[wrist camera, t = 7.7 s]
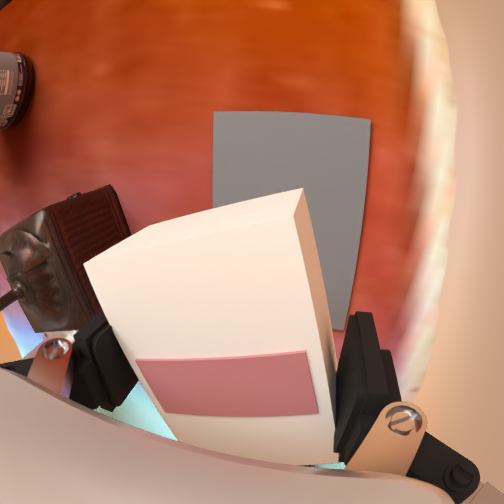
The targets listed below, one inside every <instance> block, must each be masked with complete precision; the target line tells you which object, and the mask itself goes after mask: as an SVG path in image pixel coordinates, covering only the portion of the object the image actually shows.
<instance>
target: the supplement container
mask: <svg viewBox="0 0 504 504" xmlns="http://www.w3.org/2000/svg"><path fill="white" fill-rule="evenodd" d="M32 83H33V70H32V65H31V62H30V60H29V58H28V57H27V56H26V55H25V54H23V53H21V52H6V51H0V131H5V130H8V129H10V128H12V127H13V126H14V125H15V124H16V123H17V122H18V121H19V119H20V118H21V116H22V115H23V113H24V111H25V109H26V106H27V104H28V101H29V98H30V94H31V90H32Z"/></svg>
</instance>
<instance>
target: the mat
mask: <svg viewBox="0 0 504 504" xmlns="http://www.w3.org/2000/svg"><path fill="white" fill-rule="evenodd" d="M370 127H371V120H369V119H362V118H354V117H345V116H335V115H324V114H311V113H294V112H267V111H225V112H214V124H213V209H214V208H218V207H222V206H226V205H230V204H234V203H238V202H242V201H246V200H251V199H255V198H259V197H264V196H268V195H272V194H277V193H281V192H286V191H290V190H295V189H300V188H303V189H304V193H305V197H306V202H307V206H308V210H309V215H310V219H311V224H312V228H313V233H314V237H315V242H316V247H317V252H318V256H319V261H320V266H321V271H322V276H323V282H324V287H325V292H326V298H327V303H328V309H329V315H330V320H331V326H332V329H334V330H344V327H345V322H346V317H347V313H348V308H349V302H350V297H351V292H352V286H353V281H354V275H355V269H356V263H357V257H358V250H359V243H360V236H361V229H362V221H363V213H364V204H365V195H366V185H367V173H368V161H369V146H370Z"/></svg>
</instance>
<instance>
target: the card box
mask: <svg viewBox="0 0 504 504" xmlns="http://www.w3.org/2000/svg"><path fill="white" fill-rule="evenodd" d="M83 265H84V267H85V270H86V272H87V275H88V277H89V280H90V282H91V284H92V287H93V289H94V291H95V294H96V296H97V298H98V300H99V303H100V305H101V307H102V309H103V312H104V314H105V316H106V318H107V320H108V322H109V324H110V325H111V326H112V330H113V332H114V334H115V336H116V338H117V340H118V342H119V344H120V346H121V348H122V350H123V352H124V354H125V356H126V357H127V359H128V361H129V363H130V365H131V367H132V368H133V370H134V372H135V374H136V375H137V377H138V379H139V381H140V382H141V384H142V386H143V387H144V389H145V391H146V392H147V394H148V396H149V397H150V399H151V401H152V402H153V404H154V405H155V407H156V408H157V410H158V412H159V413H160V415H161V416H162V418H163V419H164V421H165V422H166V424H167V425H168V427H169V428H170V430H171V431H172V433H173V434H174V435H175V437H176V438H177V440H178V441H179V442H182V443H185V444H189V445H193V446H196V447H200V448H204V449H208V450H212V451H216V452H220V453H225V454H229V455H234V456H239V457H244V458H250V459H255V460H261V461H267V462H274V463H281V464H289V465H319V464H333V463H340V462H338V457H339V453H334V452H333V445H334V432H335V421H336V371H337V367H338V365H337V358H336V351H335V345H334V339H333V332H332V326H331V320H330V315H329V309H328V303H327V298H326V292H325V287H324V282H323V276H322V271H321V266H320V261H319V256H318V252H317V247H316V242H315V237H314V233H313V228H312V224H311V219H310V215H309V210H308V206H307V202H306V197H305V193H304V189H303V188H300V189H295V190H290V191H286V192H281V193H277V194H272V195H268V196H264V197H259V198H255V199H251V200H246V201H242V202H238V203H234V204H230V205H226V206H222V207H218V208H214V209H210V210H206V211H202V212H198V213H194V214H190V215H187V216H183V217H179V218H175V219H172V220H168V221H164V222H161V223H157V224H153V225H150V226H148V227H146V228H144V229H142V230H141V231H139V232H137V233H135V234H133V235H132V236H130V237H128V238H126V239H125V240H123V241H121V242H119V243H118V244H116V245H114V246H112V247H111V248H109V249H107V250H106V251H104V252H102V253H100V254H99V255H97V256H95V257H94V258H92V259H90V260H89V261H87V262H85V263H84V264H83Z"/></svg>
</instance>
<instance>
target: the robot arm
mask: <svg viewBox="0 0 504 504" xmlns="http://www.w3.org/2000/svg"><path fill="white" fill-rule="evenodd" d="M43 339H44V340H43V341H42V342H41V343H40V344H39V345H37V346H36V347H35V348H34V349H33V350H32V351H30V352H29V353H28V354H27V355H26V356H25V357H24V358H23V359H21V360H19V361H14V362H8V363H3V364H0V504H504V494H502V493H501V492H500V491H499V490H497V489H496V488H495V487H493V486H492V485H491V484H489V483H488V482H486V483H485V484H483V483H481V482H480V474H479V471H478V468H477V467H476V465H475V464H474V463H472V462H471V461H470V460H468V459H467V458H465V457H464V456H462V455H461V454H459V453H457V452H456V451H454V450H453V449H451V448H450V447H448V446H446V445H445V444H444V443H442V442H441V441H439V440H438V439H436V438H435V437H433V436H432V435H430V434H429V433H427V432H426V428H427V418H426V416H425V414H424V412H423V411H422V410H421V409H420V408H419V407H417V406H415V405H414V404H412V403H408V402H402V401H401V396H400V391H399V386H398V382H397V377H396V373H395V368H394V364H393V360H392V356H391V352H390V351H389V350H383V349H380V346H379V341H378V337H377V332H376V328H375V324H374V320H373V315H372V313H371V312H359V311H356V313H355V315H350V316H349V320H348V325H347V329H346V334H345V338H344V343H343V347H342V351H341V355H340V359H339V363H338V367H337V371H336V421H335V432H334V445H333V452H334V453H339V457H338V462H344V464H345V465H346V467H345V468H344V470H341V469H326V468H314V467H305V466H296V465H289V464H281V463H274V462H267V461H261V460H255V459H250V458H244V457H239V456H234V455H229V454H225V453H220V452H216V451H212V450H208V449H204V448H200V447H196V446H193V445H189V444H185V443H182V442H178V441H175V440H172V439H168V438H165V437H162V436H159V435H156V434H153V433H150V432H147V431H144V430H142V429H139V428H136V427H133V426H131V425H128V424H125V423H123V422H120V421H118V420H115V419H113V418H110V417H108V416H105V415H103V414H101V413H98V412H97V408H98V406H99V405H100V407H101V408H103V409H105V410H108V411H110V412H113V410H114V409H115V408H116V406H120V405H121V404H122V403H123V401H124V400H125V398H126V397H127V396H128V394H129V393H130V392H131V390H132V389H133V387H134V386H135V385H136V383H137V382H138V381H139V379H138V377H137V375H136V374H135V372H134V370H133V368H132V367H131V365H130V363H129V361H128V359H127V357H126V356H125V354H124V352H123V350H122V348H121V346H120V344H119V342H118V340H117V338H116V336H115V334H114V332H113V330H112V326H111V325H110V324H109V322H108V320H107V318H106V316H105V314H104V312H103V310H101V311H100V312H99V313H98V314H97V315H96V316H95V317H93V318H92V319H91V320H90V321H89V322H88V323H87V324H85V325H84V326H83V327H82V328H81V329H80V330H73V331H56V332H43Z"/></svg>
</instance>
